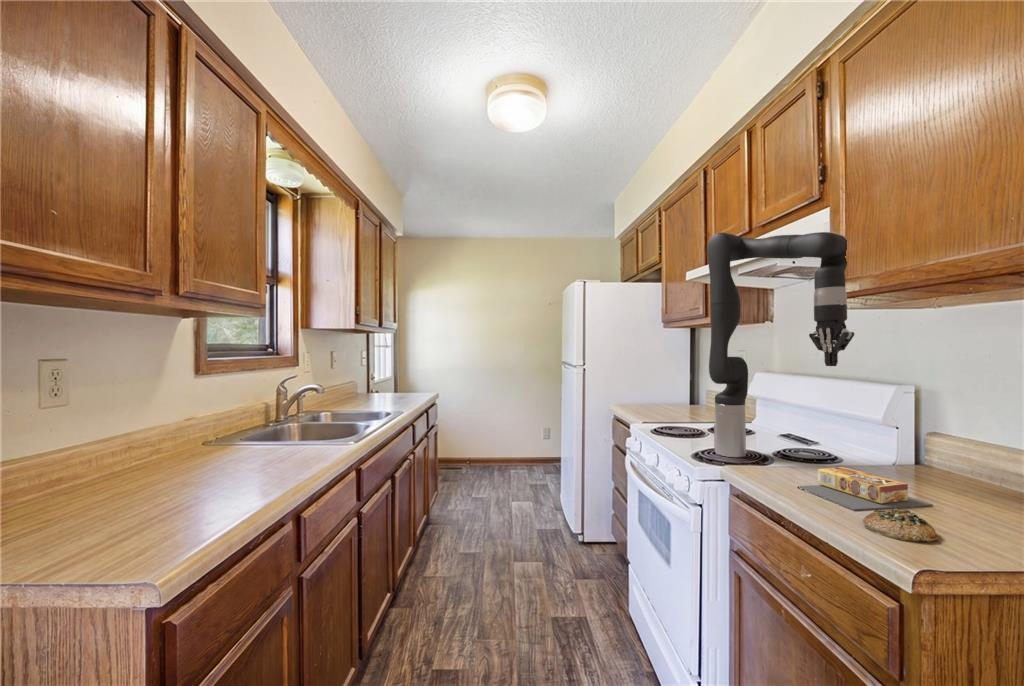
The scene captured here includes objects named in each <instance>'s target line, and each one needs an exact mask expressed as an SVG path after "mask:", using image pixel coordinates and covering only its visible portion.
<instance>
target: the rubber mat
mask: <svg viewBox="0 0 1024 686" xmlns="http://www.w3.org/2000/svg"><path fill="white" fill-rule="evenodd" d="M798 487H800V488H802V489H805V490H807V491H809V492H811V493H814V494H816V495H818V496H817V497H819V496H820V497H819V498H821V497H823V498H822V499H824V498H825V499H824V500H826V499H827V501H828V500H829V502H831V501H832V502H831V503H833V502H834V504H836V505H838V504H839V505H838V506H841V507H843V508H847V509H848V510H851V511H853V512H856V511H859V512H860V511H872V510H873V511H875V510H891V509H892V510H893V509H905V508H909V509H910V508H923V507H922V506H926V507H933V503H930V502H927V501H924V500H920V499H917V498H914V497H911V496H909V495H908V500H907V501H899V502H891V503H884V504H879V503H877V502H873V501H870V500H867V499H864V498H861V497H858V496H854V495H851V494H848V493H845V492H842V491H839V490H836V489H832V488H829V487H826V486H823V485H820V484H816V485H800V486H797V488H798ZM809 492H808V493H809ZM811 493H810V494H811ZM814 494H813V495H814ZM816 495H815V496H816Z"/></svg>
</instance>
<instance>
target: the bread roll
mask: <svg viewBox="0 0 1024 686" xmlns="http://www.w3.org/2000/svg"><path fill="white" fill-rule="evenodd" d="M862 522H863V524H864V527H865V529H867V530H869V531H871V532H873V533H874V534H876V535H880V536H883V537H888V538H891V539H895V540H900V539H901V541H905V540H909V541H908V542H916V541H918V542H925V541H927V542H926V543H931V541H933V542H935V541H936V540H939V537H938V535H937V533H936V529H935V528H934V527H933V526H932V525H931V524H930V523H929V522H928V521H926V520H925V519H923V518H922V517H918V514H916V513H915V512H911V511H910V510H909V509H905V510H899V508H893V509H877V510H873V511H872V512H871V513H869V514H868V515H866V516H865V517H864V518H863V521H862Z"/></svg>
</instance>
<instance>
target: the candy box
mask: <svg viewBox="0 0 1024 686" xmlns="http://www.w3.org/2000/svg"><path fill="white" fill-rule="evenodd" d="M817 485H823V486H826V487H829V488H832V489H836V490H839V491H842V492H845V493H848V494H851V495H854V496H858V497H861V498H864V499H867V500H870V501H873V502H877V503H879V504H884V503H891V502H899V501H907V500H908V496H909V487H908V486H909V484H908V483H905V482H902V481H899V480H895V479H891V478H887V477H883V476H879V475H875V474H871V473H867V472H865V471H859V470H856V469H852V468H847V467H843V466H840V467H828V468H827V467H826V468H818V469H817Z"/></svg>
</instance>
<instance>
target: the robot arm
mask: <svg viewBox="0 0 1024 686" xmlns="http://www.w3.org/2000/svg"><path fill="white" fill-rule="evenodd" d="M845 238H846V237H845V236H844V235H841V234H837V233H834V232H828V231H822V232H820V231H819V232H818V231H817V232H812V233H811V232H810V233H804V234H780V235H774V236H773V235H772V236H768V237H763V238H751V237H750V238H749V237H745V236H739V235H735V234H731V233H726V232H716V233H714V234H712V236H711V237H710V238H709V240H708V242H707V247H706V254H707V262H708V269H709V286H710V287H709V289H710V301H709V302H710V304H709V306H710V348H709V349H710V350H709V359H708V372H709V373H708V374H709V376H710V380H711V381H712V382H713V383H714V384H716V385H726V386H725V388H724V389H723V390H722V391H720V392H719V393H717V394H715V396H714V408H715V409H714V419H715V421H714V422H715V424H714V425H713V429H714V430H713V434H714V435H713V437H714V439H713V440H714V445H713V447H714V452H715V454H716V455H719V456H723V457H728V458H745V457H746V456H747V441H746V439H747V433H746V431H747V429H746V425H747V424H746V399H747V396H748V389H749V388H748V387H749V383H748V382H749V368H748V364H747V362H746V360H745V359H744V358H742V357H741V356H728V349H729V343H730V339H731V337H732V335H733V334H734V332H735V330H737V326H738V324H739V322H740V320H741V317H742V315H741V313H742V312H741V310H742V309H741V308H742V307H741V295H740V293H739V290H738V288H737V285H736V283H735V281H734V279H733V275H732V272H731V271H732V270H731V262H735V261H741V260H745V259H746V260H749V259H754V258H755V259H756V258H757V259H758V258H759V259H760V258H761V259H764V258H765V259H766V258H767V259H792V260H794V259H802V258H818V259H821V261H820V266H819V268H818V269H816V271H815V272H814V275H813V277H814V279H813V280H814V281H813V283H814V293H813V321H814V322H816V326H815V331H814V332H812V333H809V335H808V336H809V338H810V340H811V341H812V343H813V344H814V345H815V347H816V349H817V350H818V351H820V352H821V351H822V352H823V353H824V356H823V357H824V364H825V366H826V367H837V366H838V360H839V357H838V353H839V352H841V351H845V350H846V348H847V346H848V345H849V344H850V342H851V341H852V339H853V338H854V336H855V332H854V331H849V330H848V329H847V325H846V322H845V321H847V320H848V295H847V290H846V289H847V288H846V269H847V265H848V262H847V261H846V258H845V256H846V250H847V241H848V239H847V238H846V239H847V240H846V239H845Z"/></svg>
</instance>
